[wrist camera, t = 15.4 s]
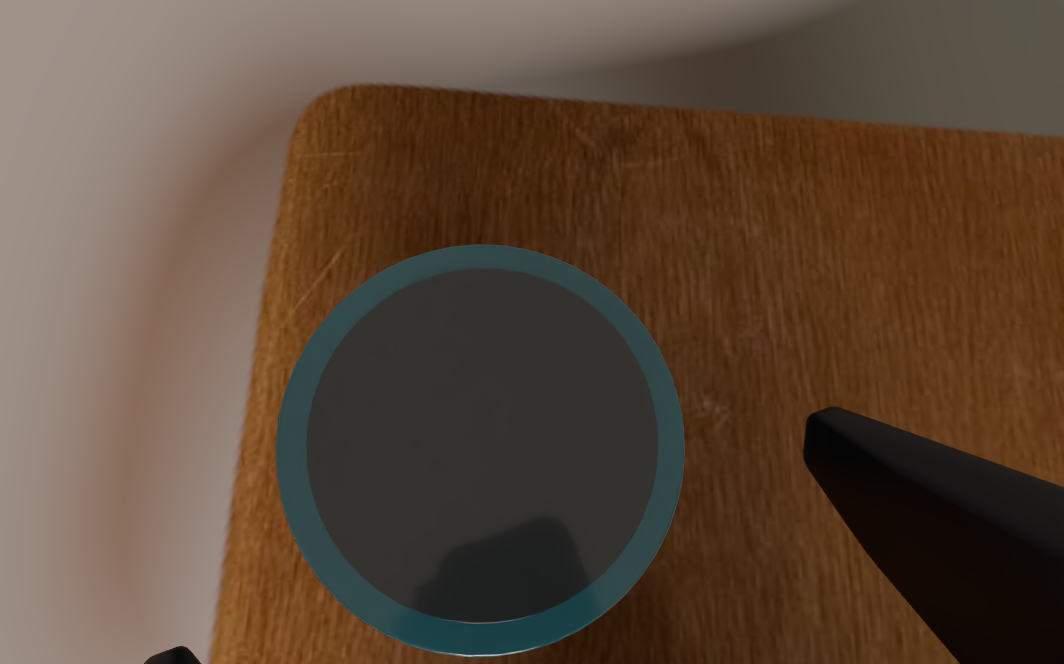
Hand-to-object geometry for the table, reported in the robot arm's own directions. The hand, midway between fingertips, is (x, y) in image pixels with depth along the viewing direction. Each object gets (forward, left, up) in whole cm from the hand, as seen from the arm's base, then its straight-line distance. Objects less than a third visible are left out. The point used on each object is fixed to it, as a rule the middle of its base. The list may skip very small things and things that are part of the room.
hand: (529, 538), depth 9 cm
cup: (-1, +1, -11) cm, 12 cm away
